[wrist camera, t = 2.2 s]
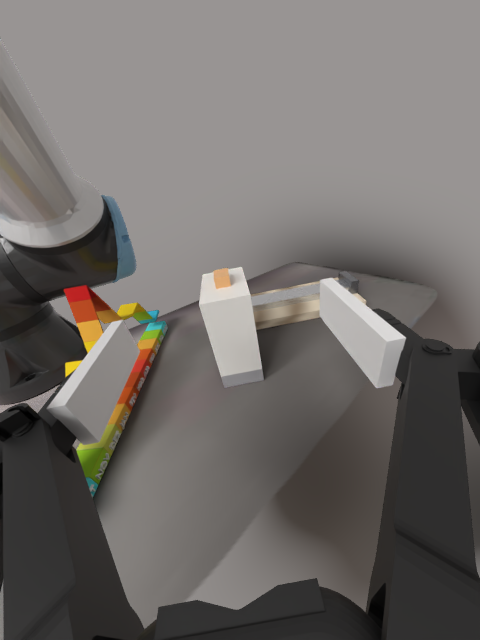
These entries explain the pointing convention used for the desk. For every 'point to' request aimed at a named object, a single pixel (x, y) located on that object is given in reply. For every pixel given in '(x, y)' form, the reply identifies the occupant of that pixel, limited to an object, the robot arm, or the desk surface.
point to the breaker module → (231, 326)
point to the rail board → (290, 310)
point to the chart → (87, 317)
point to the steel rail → (300, 294)
